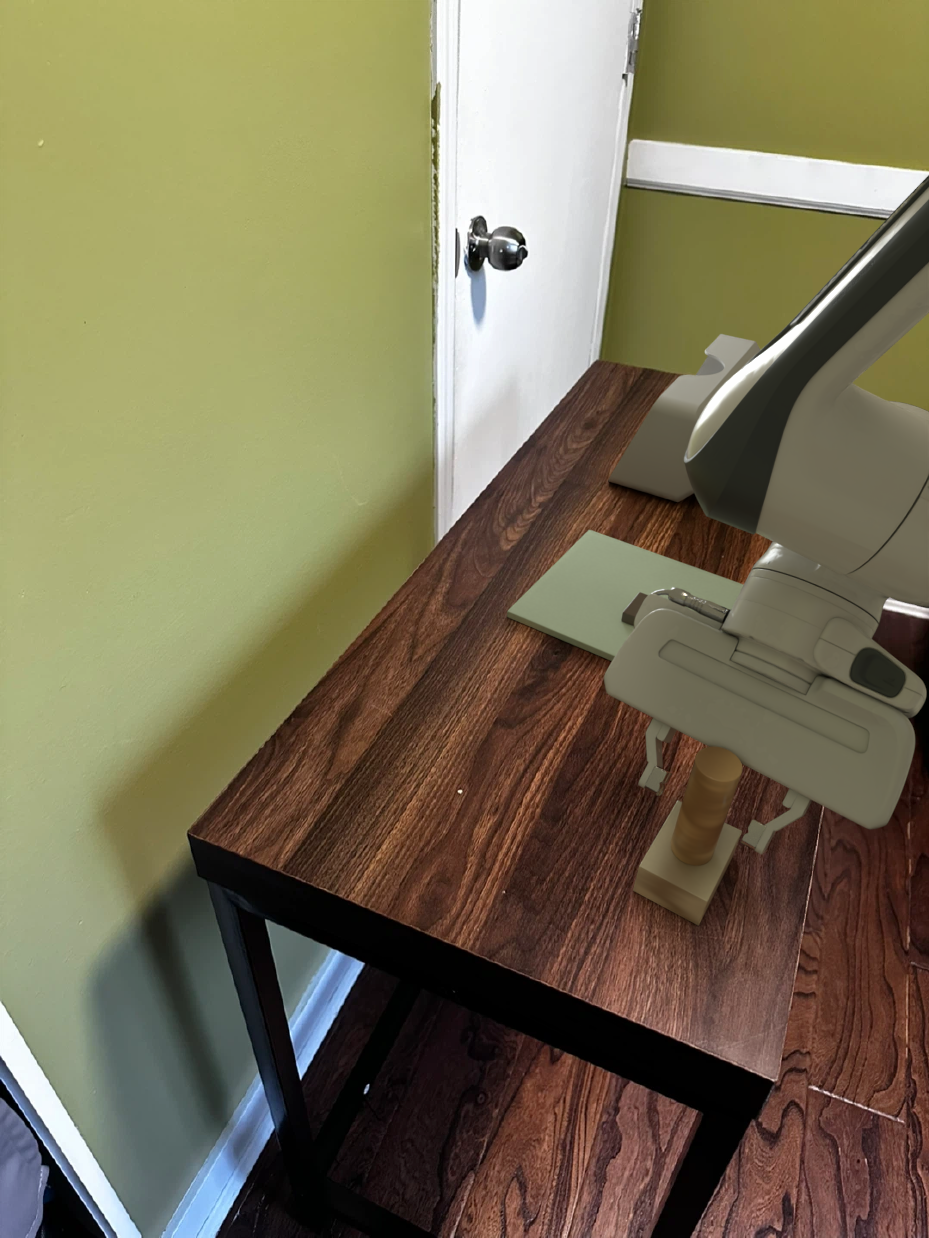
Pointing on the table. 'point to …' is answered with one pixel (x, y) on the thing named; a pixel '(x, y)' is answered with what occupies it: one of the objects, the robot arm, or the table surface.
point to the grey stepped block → (678, 423)
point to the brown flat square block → (633, 609)
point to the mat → (608, 591)
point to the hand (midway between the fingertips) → (698, 818)
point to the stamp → (694, 839)
